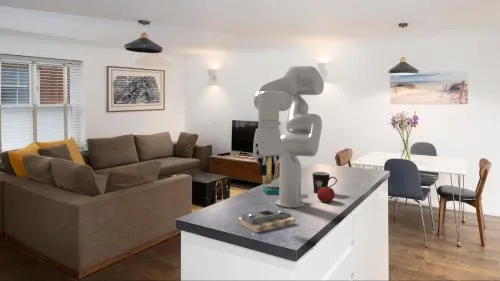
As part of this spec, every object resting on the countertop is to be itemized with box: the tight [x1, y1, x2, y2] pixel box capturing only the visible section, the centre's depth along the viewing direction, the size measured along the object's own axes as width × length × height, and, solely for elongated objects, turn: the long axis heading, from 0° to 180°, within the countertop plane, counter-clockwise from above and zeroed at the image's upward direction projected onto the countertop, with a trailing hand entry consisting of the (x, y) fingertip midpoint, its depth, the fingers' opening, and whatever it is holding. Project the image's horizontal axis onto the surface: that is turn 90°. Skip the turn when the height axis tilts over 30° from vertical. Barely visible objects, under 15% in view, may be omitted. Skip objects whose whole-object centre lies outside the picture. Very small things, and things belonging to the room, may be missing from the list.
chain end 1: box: [241, 209, 280, 225], centre depth 138 cm, size 13×7×3 cm, turn 125°
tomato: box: [316, 186, 336, 203], centre depth 173 cm, size 8×8×7 cm
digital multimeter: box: [262, 186, 279, 196], centre depth 189 cm, size 7×15×3 cm, turn 104°
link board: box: [237, 216, 296, 233], centre depth 140 cm, size 18×12×2 cm, turn 125°
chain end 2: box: [263, 209, 292, 222], centre depth 141 cm, size 13×7×2 cm, turn 125°
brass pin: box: [262, 156, 273, 185], centre depth 138 cm, size 3×3×10 cm
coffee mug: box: [312, 171, 338, 194], centre depth 188 cm, size 12×9×10 cm
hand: (267, 174), depth 138 cm, fingers closed on brass pin, 3 cm apart
